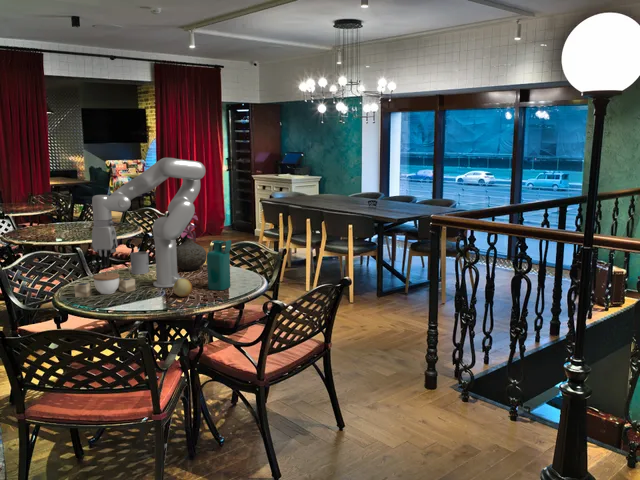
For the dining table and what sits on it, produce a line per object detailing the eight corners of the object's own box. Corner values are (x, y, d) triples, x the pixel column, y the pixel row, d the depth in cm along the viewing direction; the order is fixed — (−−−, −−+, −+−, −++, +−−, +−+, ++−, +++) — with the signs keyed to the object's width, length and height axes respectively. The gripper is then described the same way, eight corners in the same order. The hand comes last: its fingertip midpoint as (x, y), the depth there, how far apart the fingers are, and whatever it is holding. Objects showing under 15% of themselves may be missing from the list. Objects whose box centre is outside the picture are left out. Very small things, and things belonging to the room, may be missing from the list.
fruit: (175, 294, 253) (175, 276, 252) (194, 294, 253) (194, 276, 252) (171, 299, 246) (170, 280, 244) (190, 299, 246) (189, 280, 244)
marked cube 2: (135, 290, 262) (134, 278, 261) (126, 292, 258) (125, 280, 257) (128, 288, 265) (128, 277, 264) (119, 290, 261) (118, 279, 260)
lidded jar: (96, 296, 250) (94, 275, 249) (93, 291, 259) (91, 270, 258) (122, 293, 255) (120, 272, 253) (118, 288, 264) (117, 268, 263)
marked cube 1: (91, 294, 255) (90, 282, 254) (87, 297, 250) (86, 285, 249) (80, 294, 255) (79, 282, 254) (75, 297, 250) (74, 285, 249)
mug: (146, 274, 294) (145, 254, 292) (129, 274, 294) (128, 254, 292) (152, 269, 306) (151, 250, 304) (136, 269, 306) (135, 250, 304)
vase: (175, 274, 293) (173, 215, 288) (171, 267, 309) (169, 211, 305) (209, 271, 299) (207, 213, 294) (203, 265, 315) (201, 210, 310)
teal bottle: (206, 289, 262) (204, 241, 258) (215, 285, 270) (214, 238, 266) (225, 291, 258) (224, 242, 255) (234, 287, 266) (233, 239, 263)
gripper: (123, 223, 254) (125, 264, 257) (93, 222, 258) (96, 262, 261) (112, 225, 247) (115, 267, 250) (82, 224, 251) (85, 266, 254)
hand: (105, 265), depth 255 cm, fingers closed
